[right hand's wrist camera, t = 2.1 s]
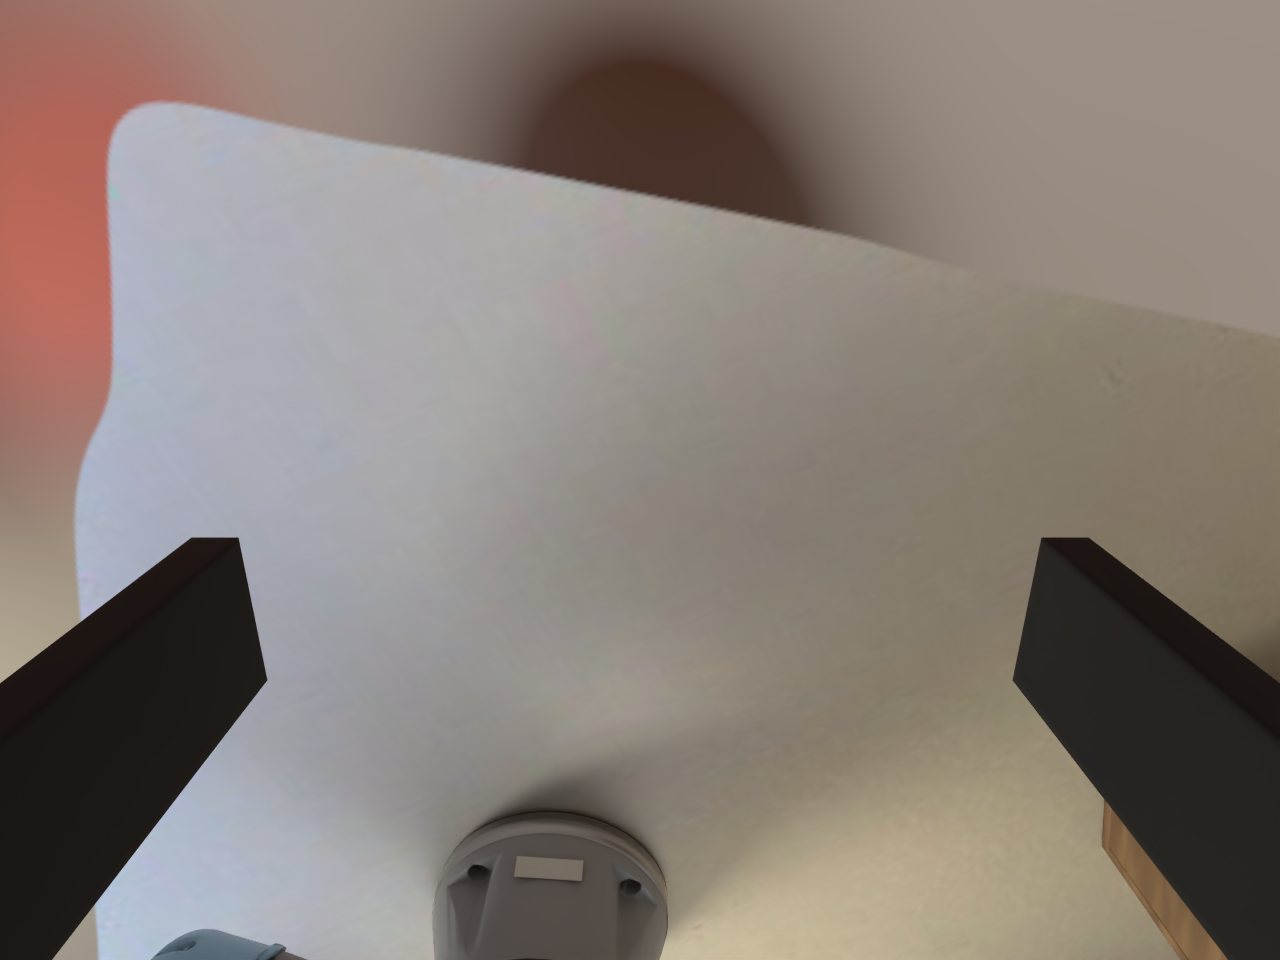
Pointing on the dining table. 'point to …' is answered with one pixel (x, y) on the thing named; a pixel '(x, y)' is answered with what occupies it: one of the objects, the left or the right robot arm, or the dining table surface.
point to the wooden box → (1156, 893)
